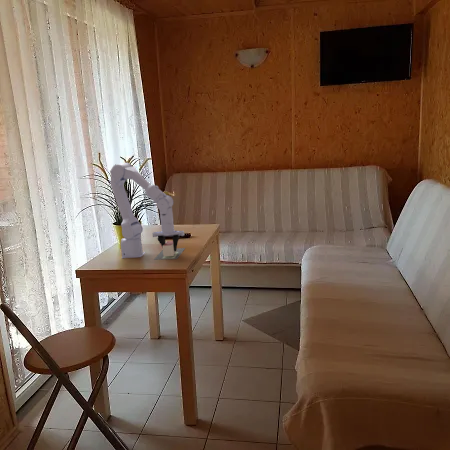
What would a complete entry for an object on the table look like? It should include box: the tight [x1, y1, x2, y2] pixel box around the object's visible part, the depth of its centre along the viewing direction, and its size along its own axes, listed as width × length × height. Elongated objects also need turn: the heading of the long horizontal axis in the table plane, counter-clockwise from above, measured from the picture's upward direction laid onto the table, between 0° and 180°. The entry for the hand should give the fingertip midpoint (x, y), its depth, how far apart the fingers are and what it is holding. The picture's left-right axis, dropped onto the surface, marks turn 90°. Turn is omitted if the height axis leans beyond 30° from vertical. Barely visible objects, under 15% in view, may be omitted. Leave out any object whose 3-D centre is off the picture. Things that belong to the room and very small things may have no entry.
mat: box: [153, 247, 186, 261], centre depth 210 cm, size 11×18×1 cm, turn 173°
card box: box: [162, 240, 177, 256], centre depth 206 cm, size 8×4×5 cm, turn 173°
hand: (170, 251), depth 206 cm, fingers closed on card box, 4 cm apart
